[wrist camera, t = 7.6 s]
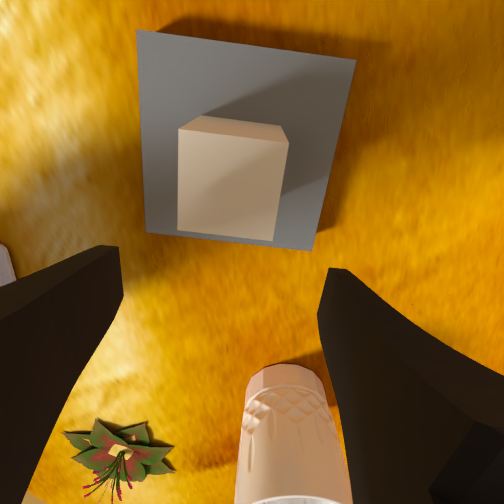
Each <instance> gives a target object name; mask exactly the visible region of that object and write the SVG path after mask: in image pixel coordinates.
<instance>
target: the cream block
mask: <svg viewBox="0 0 504 504" xmlns="http://www.w3.org/2000/svg"><path fill="white" fill-rule="evenodd" d="M288 146H289V142H288V140H287V138H286V136H285V134H284V132H283V129H282V127H281V126H279V125H272V124H264V123H256V122H249V121H241V120H234V119H226V118H219V117H211V116H203V115H200V116H199V117H197V118H195V119H194V120H192V121H190V122H189V123H187V124H186V125H184V126H182V127H181V128H179V129H178V221H177V230H180V231H189V232H197V233H206V234H214V235H223V236H231V237H240V238H248V239H257V240H266V241H273V235H274V229H275V223H276V217H277V211H278V205H279V200H280V194H281V188H282V182H283V176H284V170H285V164H286V158H287V152H288Z"/></svg>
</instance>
